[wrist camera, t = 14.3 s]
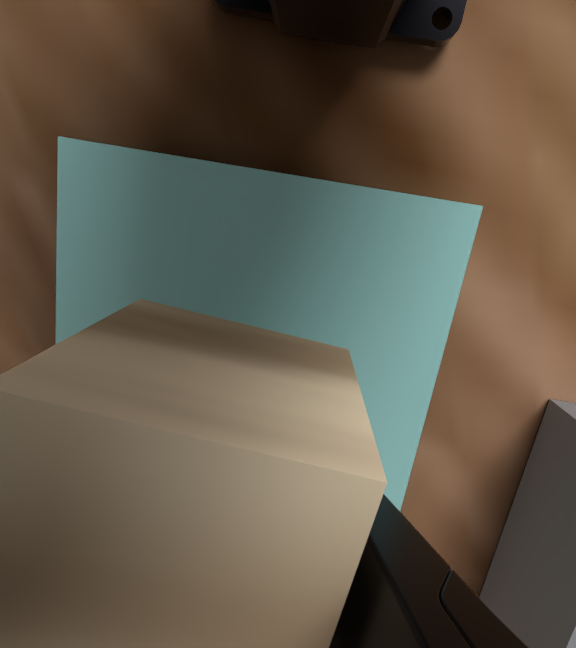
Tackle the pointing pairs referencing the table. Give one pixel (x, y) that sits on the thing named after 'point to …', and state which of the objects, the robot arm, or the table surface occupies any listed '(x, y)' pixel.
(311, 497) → the wooden block
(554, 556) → the grey u-shaped frame
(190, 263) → the mat
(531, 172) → the table surface
